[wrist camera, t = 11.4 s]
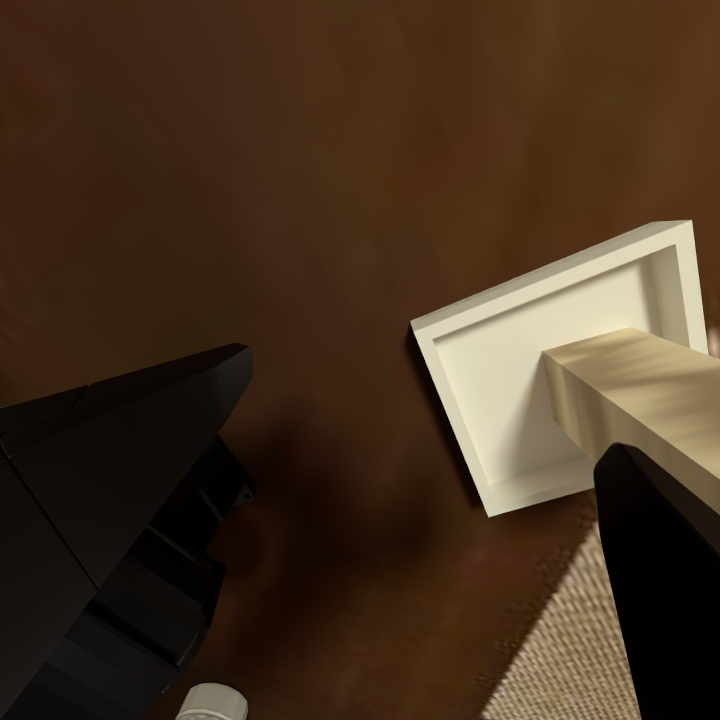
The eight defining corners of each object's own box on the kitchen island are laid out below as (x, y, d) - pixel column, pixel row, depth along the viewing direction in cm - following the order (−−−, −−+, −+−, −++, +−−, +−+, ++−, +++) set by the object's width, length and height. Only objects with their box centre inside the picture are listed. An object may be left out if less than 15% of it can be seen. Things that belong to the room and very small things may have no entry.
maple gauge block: (553, 420, 22) (763, 646, 10) (541, 350, 21) (773, 518, 8) (636, 400, 21) (974, 619, 9) (630, 326, 20) (1028, 473, 8)
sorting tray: (478, 490, 25) (488, 517, 23) (410, 321, 21) (413, 331, 19) (685, 429, 23) (720, 452, 20) (652, 221, 18) (691, 219, 16)
